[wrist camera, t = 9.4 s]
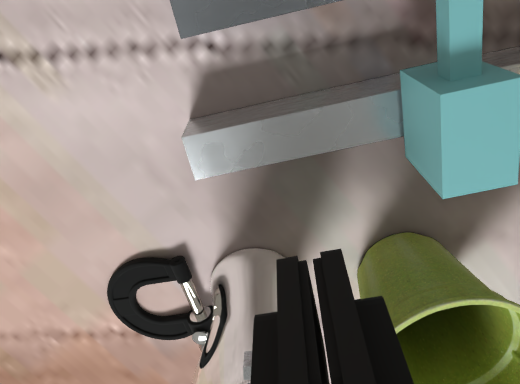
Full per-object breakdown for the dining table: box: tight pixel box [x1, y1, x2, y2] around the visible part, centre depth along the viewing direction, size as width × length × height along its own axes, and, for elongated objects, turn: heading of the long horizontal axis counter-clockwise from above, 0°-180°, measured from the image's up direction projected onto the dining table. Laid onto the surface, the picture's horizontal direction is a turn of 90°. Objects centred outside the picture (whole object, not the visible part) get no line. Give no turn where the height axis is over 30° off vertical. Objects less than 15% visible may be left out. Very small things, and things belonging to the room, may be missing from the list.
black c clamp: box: [107, 256, 213, 352], centre depth 30 cm, size 15×7×2 cm, turn 15°
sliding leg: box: [400, 0, 520, 199], centre depth 17 cm, size 3×13×6 cm, turn 12°
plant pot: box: [357, 232, 520, 384], centre depth 25 cm, size 9×9×9 cm
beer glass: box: [191, 248, 285, 384], centre depth 22 cm, size 7×7×15 cm
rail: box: [182, 46, 520, 180], centre depth 22 cm, size 26×2×3 cm, turn 102°
